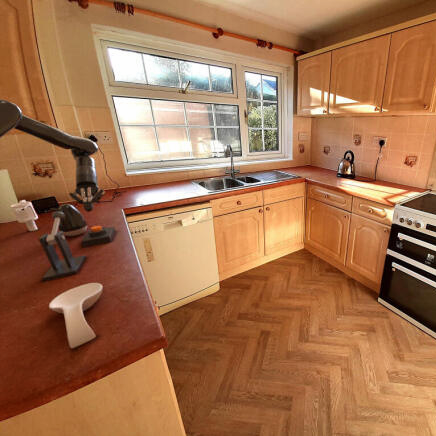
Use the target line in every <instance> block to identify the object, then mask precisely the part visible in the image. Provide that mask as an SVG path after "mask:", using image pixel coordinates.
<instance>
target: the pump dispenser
mask: <svg viewBox="0 0 436 436" xmlns="http://www.w3.org/2000/svg"><path fill="white" fill-rule="evenodd" d="M49 211H50V212H56V211H60V212H63V213H64V218H63V219H62V220H60V222H59V226H58V230H59V231H62V232H63V234H64V236H66V237H77V236H80V235H82V234H84V233H85V232H87V229H88V222H87V220H86V218H85V217H84V215H83V214H82V213H81V211H79V209H78V208H77V207H75V206H74V205H72V204H69V203H64V204H61V205H60V206H59V207H58V208H52V207H51V208H50V210H49Z"/></svg>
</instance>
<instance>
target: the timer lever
mask: <svg viewBox="0 0 436 436" xmlns="http://www.w3.org/2000/svg"><path fill="white" fill-rule="evenodd" d="M51 218H52V219H53V220H54V222H53V225H52V230H51V234H48V235H47V239H46V241H47V242H48V244H49V245H53V246H54V245H58V244H57V242H56V240H55V237H54V236H55V235H56V234H57V233H58V232H59V231H58V230H59V227H58V226H59V222H60V220H62V219H63V218H64V213H63V212H60V211H53V212H52V213H51Z"/></svg>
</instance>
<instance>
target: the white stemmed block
mask: <svg viewBox="0 0 436 436" xmlns="http://www.w3.org/2000/svg"><path fill="white" fill-rule="evenodd" d="M10 208H11V210H12V212H13V214H14V215H15V217H16V219H17V222H18V223H21V224H22V223H25V225H26V227H27V230H28V231H29V232H34V231H36V230H37V231H38V227H37V225H36V222H35V220H37V219H39V217H38V214H37V213H36V211H35V209H34V206H33V204H32V202H31V201H27V200H26V199H22V200H19V202H17V203H14V204H11V205H10ZM23 209H24V210H23Z"/></svg>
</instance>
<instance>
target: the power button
mask: <svg viewBox="0 0 436 436" xmlns="http://www.w3.org/2000/svg"><path fill="white" fill-rule="evenodd" d="M101 227H102V225H95V226H92V227H90V230H92V232H97V231H100V230H102V228H101Z"/></svg>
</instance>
